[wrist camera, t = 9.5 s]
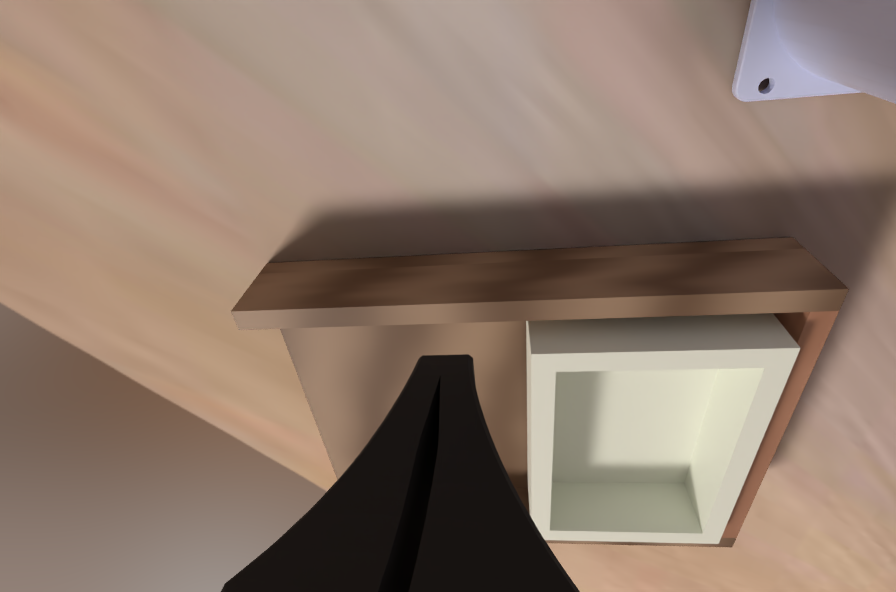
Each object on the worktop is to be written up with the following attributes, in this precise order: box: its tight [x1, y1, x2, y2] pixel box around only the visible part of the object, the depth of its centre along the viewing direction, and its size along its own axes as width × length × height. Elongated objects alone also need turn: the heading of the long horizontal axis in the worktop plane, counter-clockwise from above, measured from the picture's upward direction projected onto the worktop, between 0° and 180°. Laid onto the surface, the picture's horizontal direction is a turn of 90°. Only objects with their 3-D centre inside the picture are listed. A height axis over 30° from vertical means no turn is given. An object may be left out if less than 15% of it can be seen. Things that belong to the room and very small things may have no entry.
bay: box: [231, 237, 849, 547], centre depth 26 cm, size 24×18×4 cm
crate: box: [526, 313, 800, 544], centre depth 24 cm, size 10×14×4 cm
